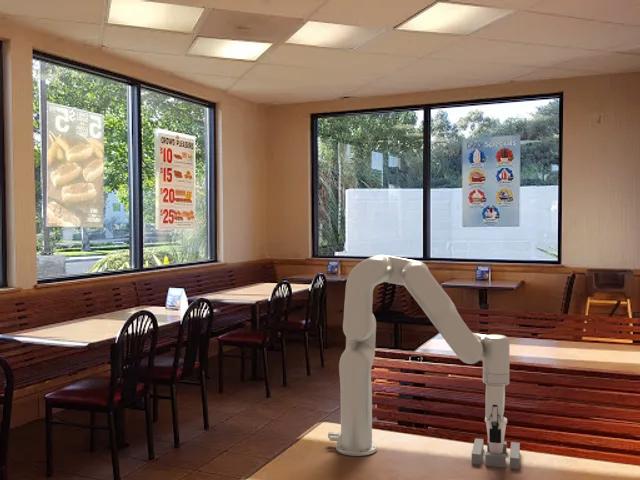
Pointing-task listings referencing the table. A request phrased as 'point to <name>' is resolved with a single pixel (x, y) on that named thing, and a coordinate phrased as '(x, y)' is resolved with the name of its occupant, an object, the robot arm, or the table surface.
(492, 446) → the smoothie
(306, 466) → the table surface
